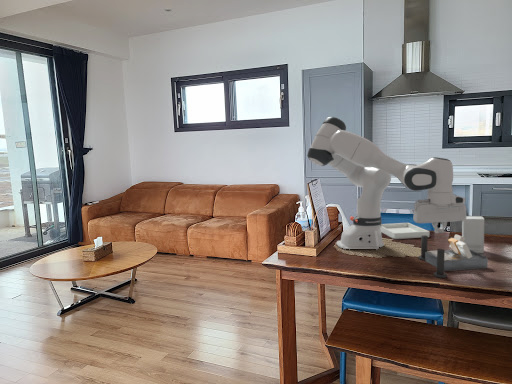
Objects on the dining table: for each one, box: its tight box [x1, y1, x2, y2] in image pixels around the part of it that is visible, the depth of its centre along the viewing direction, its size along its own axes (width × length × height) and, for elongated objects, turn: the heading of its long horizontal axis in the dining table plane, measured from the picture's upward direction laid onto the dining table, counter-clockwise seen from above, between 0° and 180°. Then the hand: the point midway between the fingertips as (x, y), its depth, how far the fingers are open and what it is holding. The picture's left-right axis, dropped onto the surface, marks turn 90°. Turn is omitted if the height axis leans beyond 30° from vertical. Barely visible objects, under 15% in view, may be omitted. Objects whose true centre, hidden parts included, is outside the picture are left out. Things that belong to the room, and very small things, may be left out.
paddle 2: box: [456, 241, 472, 259], centre depth 142 cm, size 2×4×6 cm, turn 5°
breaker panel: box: [424, 249, 489, 272], centre depth 148 cm, size 18×13×5 cm
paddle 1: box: [448, 234, 465, 249], centre depth 153 cm, size 2×4×6 cm, turn 5°
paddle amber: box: [447, 237, 461, 255], centre depth 147 cm, size 2×4×6 cm, turn 5°
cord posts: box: [417, 235, 448, 279], centre depth 146 cm, size 4×25×10 cm, turn 171°
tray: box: [381, 222, 430, 240], centre depth 201 cm, size 19×22×3 cm
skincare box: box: [461, 215, 485, 254], centre depth 164 cm, size 8×7×16 cm
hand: (439, 232), depth 146 cm, fingers closed
